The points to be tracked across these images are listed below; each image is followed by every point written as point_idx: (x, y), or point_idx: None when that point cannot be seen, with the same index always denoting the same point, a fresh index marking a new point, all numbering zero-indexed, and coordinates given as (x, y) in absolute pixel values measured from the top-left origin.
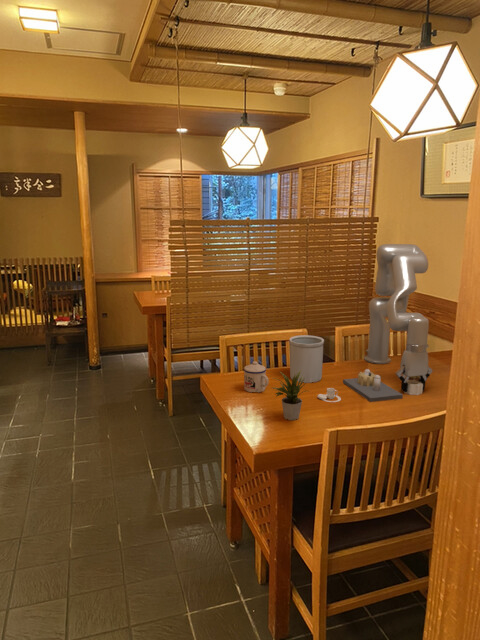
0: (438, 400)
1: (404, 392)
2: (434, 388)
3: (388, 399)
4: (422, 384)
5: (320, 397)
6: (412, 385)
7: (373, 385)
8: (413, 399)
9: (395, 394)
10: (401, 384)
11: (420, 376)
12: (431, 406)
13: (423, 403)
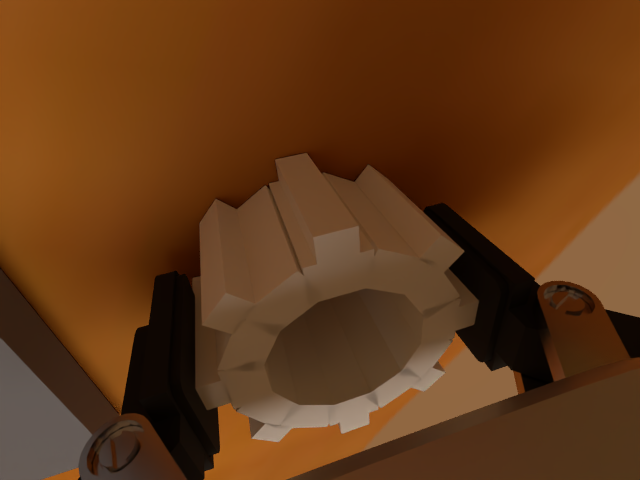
0: (410, 392)
1: (196, 287)
2: (601, 152)
3: None
4: (422, 390)
5: None
6: (274, 439)
7: None
8: (225, 412)
9: (12, 470)
10: (129, 383)
11: (548, 350)
12: (300, 473)
13: (272, 452)
